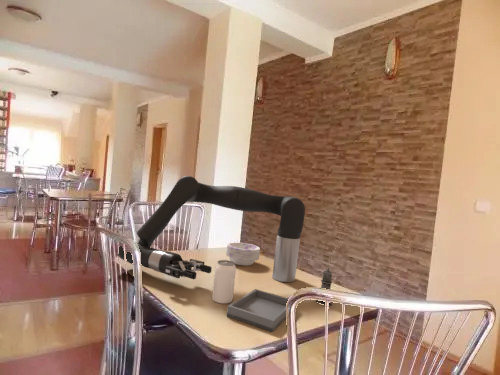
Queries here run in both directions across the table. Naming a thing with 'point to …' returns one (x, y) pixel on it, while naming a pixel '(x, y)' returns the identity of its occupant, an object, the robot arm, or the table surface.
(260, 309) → the tray
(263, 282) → the table surface
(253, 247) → the paper bowls
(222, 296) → the can
